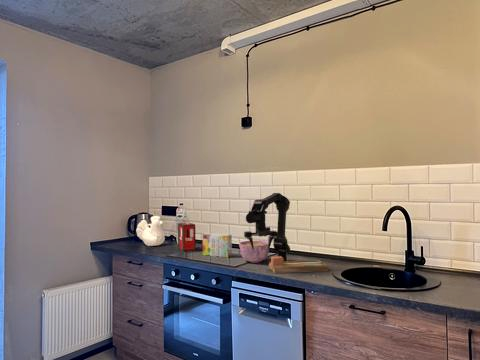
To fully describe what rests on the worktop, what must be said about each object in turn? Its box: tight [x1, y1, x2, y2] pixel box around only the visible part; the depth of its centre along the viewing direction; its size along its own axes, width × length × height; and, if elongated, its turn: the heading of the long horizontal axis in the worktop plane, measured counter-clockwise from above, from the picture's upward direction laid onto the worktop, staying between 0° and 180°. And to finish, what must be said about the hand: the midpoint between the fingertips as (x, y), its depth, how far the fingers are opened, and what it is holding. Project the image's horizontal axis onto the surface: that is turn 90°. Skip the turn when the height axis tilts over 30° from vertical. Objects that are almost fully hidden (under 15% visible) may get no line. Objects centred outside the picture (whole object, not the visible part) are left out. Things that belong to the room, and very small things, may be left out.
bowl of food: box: [238, 240, 270, 264], centre depth 210 cm, size 20×20×12 cm
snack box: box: [202, 232, 233, 259], centre depth 229 cm, size 21×6×15 cm, turn 59°
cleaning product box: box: [177, 222, 197, 253], centre depth 252 cm, size 16×9×20 cm, turn 25°
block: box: [270, 255, 284, 266], centre depth 191 cm, size 6×6×4 cm
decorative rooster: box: [135, 215, 166, 247], centre depth 277 cm, size 25×16×25 cm, turn 61°
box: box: [268, 259, 329, 274], centre depth 189 cm, size 16×30×3 cm, turn 96°
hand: (260, 249), depth 190 cm, fingers open, 9 cm apart
